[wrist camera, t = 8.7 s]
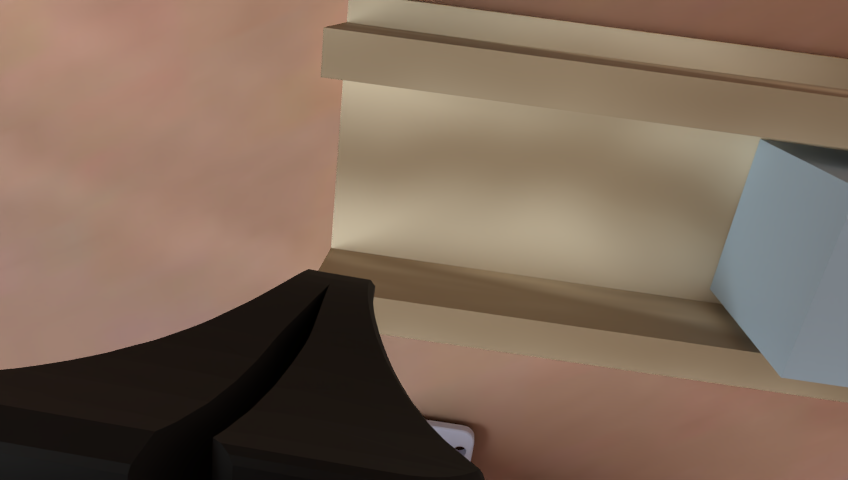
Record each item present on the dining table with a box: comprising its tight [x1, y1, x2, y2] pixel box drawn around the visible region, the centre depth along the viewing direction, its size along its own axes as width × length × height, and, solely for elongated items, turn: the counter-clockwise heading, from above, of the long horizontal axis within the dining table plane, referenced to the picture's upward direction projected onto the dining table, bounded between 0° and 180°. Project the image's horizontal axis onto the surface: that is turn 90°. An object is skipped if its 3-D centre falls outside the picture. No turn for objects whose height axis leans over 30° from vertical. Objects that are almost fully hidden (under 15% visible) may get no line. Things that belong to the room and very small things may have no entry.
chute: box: [319, 0, 848, 403], centre depth 18 cm, size 10×19×4 cm, turn 83°
